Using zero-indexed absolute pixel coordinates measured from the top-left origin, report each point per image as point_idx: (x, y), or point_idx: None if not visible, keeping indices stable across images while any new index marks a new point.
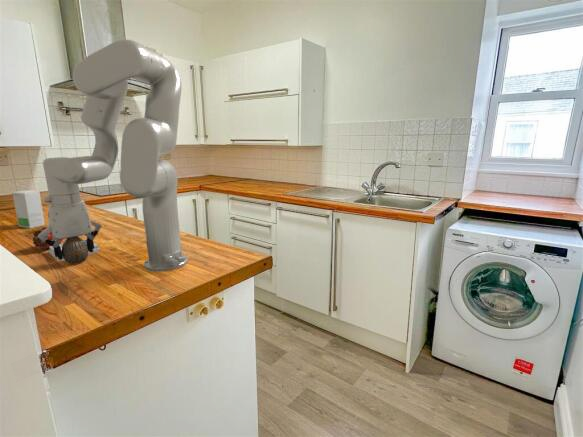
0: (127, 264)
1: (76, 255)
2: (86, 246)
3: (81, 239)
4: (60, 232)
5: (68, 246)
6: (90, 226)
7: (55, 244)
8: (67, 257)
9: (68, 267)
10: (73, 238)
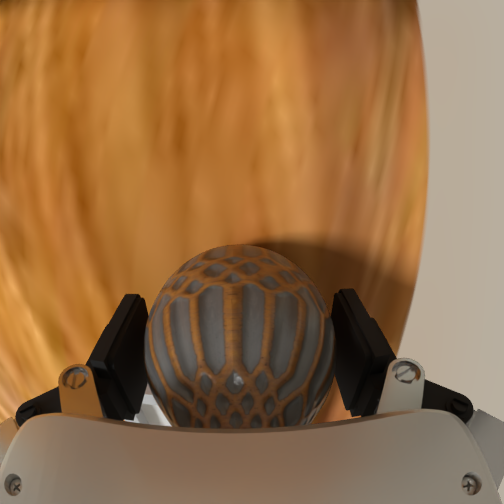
0: (33, 30)
1: (252, 256)
2: (148, 328)
3: (164, 406)
4: (432, 488)
5: (306, 346)
6: (1, 472)
7: (406, 384)
8: (311, 280)
9: (309, 224)
10: (242, 424)
